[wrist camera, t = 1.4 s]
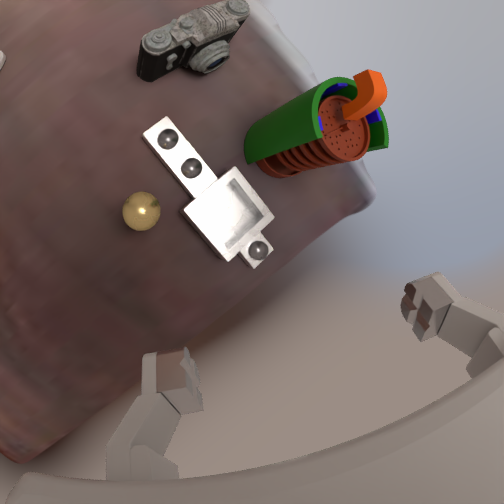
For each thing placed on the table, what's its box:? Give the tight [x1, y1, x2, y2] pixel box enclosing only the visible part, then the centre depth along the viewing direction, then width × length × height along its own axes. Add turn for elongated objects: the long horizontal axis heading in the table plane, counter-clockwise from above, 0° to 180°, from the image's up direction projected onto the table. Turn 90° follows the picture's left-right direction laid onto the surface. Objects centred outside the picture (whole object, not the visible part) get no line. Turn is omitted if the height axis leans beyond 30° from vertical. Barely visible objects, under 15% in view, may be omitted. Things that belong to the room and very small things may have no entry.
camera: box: [137, 0, 250, 82], centre depth 30 cm, size 15×7×10 cm, turn 127°
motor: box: [244, 70, 389, 178], centre depth 31 cm, size 10×9×20 cm
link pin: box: [123, 192, 160, 231], centre depth 30 cm, size 4×4×9 cm
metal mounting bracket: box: [142, 116, 275, 269], centre depth 36 cm, size 22×8×3 cm, turn 40°
